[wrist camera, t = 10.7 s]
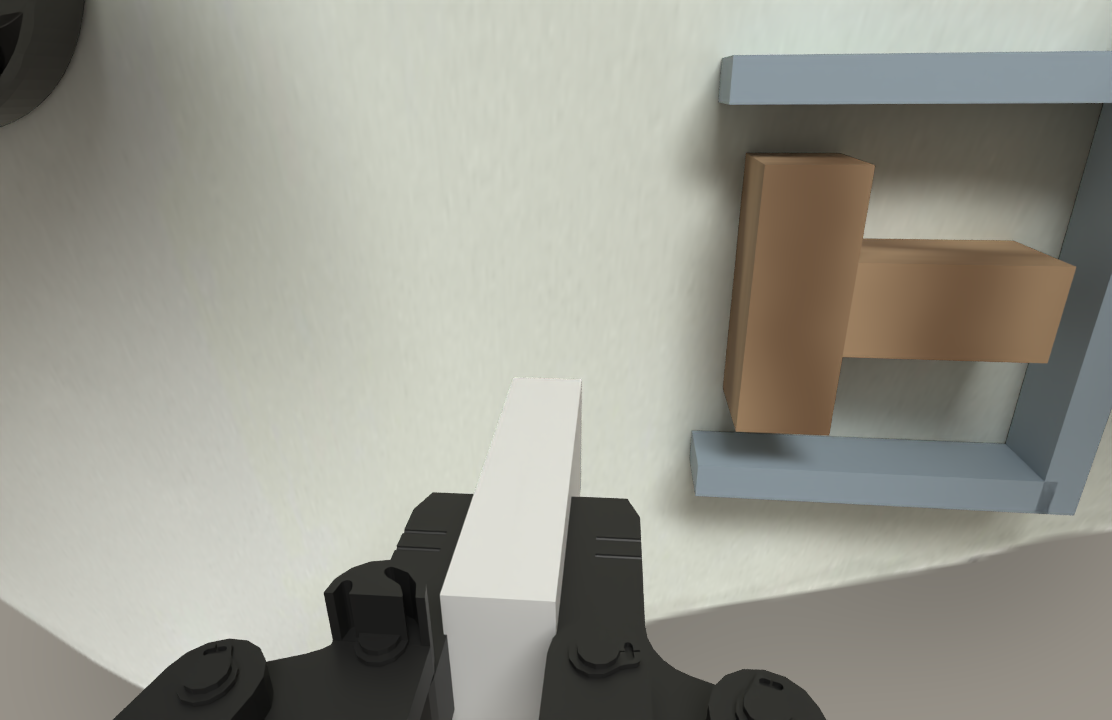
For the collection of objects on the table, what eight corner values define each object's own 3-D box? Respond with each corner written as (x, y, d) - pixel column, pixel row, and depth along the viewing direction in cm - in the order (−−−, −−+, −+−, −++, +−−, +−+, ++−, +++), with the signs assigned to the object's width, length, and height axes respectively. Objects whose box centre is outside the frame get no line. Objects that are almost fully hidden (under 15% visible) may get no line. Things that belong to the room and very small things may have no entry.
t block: (722, 387, 30) (736, 431, 26) (745, 152, 26) (765, 164, 22) (972, 397, 29) (1023, 443, 25) (1035, 153, 25) (1106, 166, 21)
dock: (689, 459, 31) (695, 495, 28) (721, 58, 24) (733, 55, 22) (1032, 475, 30) (1074, 515, 27) (1164, 53, 23) (1237, 49, 20)
